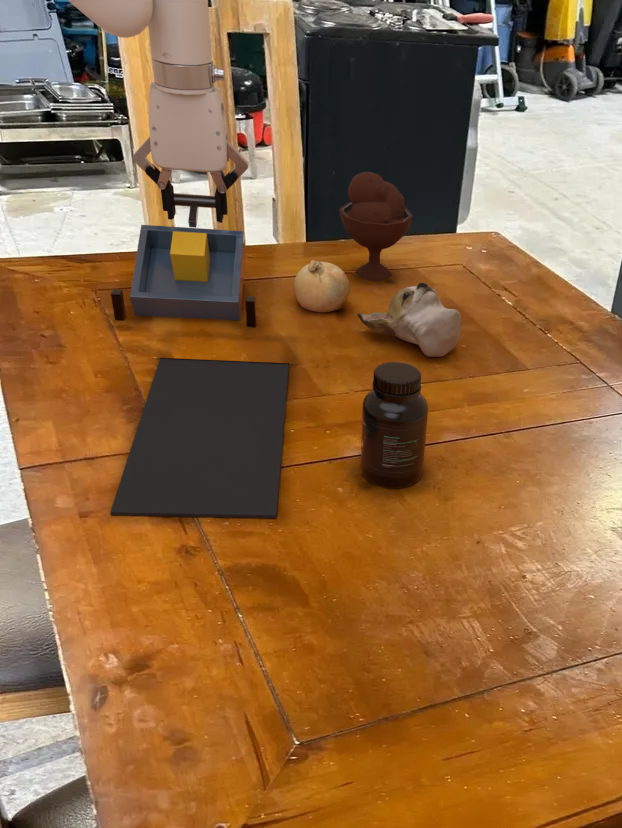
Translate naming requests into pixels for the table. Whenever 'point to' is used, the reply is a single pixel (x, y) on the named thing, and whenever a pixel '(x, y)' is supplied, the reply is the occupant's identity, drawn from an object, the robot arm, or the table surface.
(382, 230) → the ice cream bowl
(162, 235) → the blue-grey tray
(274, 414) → the mat
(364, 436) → the supplement bottle
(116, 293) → the dark brown post pair
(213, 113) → the robot arm
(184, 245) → the block
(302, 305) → the onion
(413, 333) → the ceramic sculpture
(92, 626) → the table surface
